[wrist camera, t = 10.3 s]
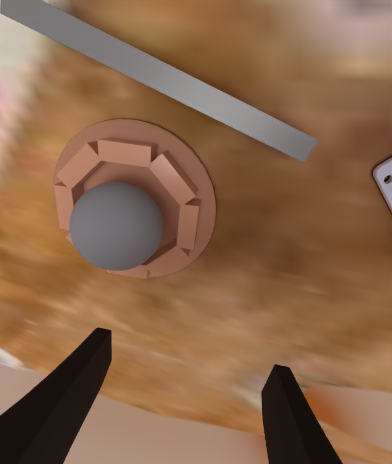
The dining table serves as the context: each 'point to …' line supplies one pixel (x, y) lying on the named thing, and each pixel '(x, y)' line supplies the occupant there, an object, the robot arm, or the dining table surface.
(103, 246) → the ball
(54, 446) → the robot arm
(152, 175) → the bowl
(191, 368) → the dining table surface
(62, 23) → the low wall
